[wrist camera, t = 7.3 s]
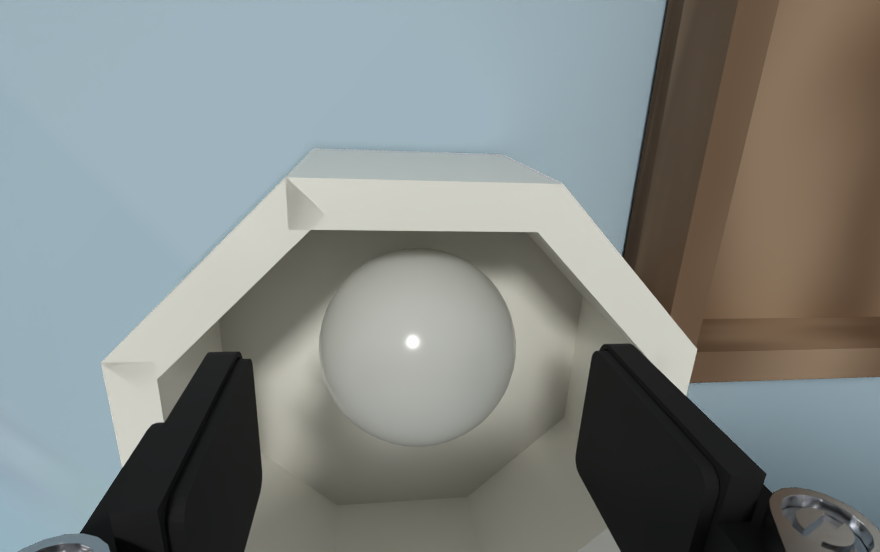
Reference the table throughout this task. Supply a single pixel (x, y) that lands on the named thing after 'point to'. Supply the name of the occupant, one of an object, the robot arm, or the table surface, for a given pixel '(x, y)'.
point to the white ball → (417, 347)
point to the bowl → (307, 397)
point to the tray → (765, 187)
